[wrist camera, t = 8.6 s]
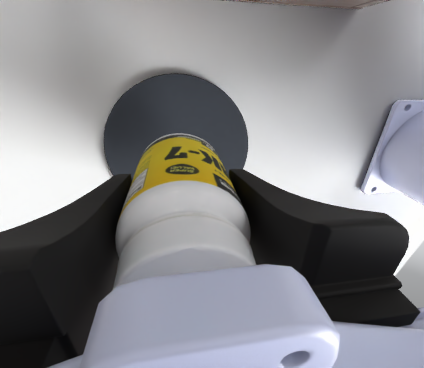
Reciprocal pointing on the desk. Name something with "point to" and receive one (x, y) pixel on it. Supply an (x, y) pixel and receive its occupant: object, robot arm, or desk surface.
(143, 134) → the coaster
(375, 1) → the box
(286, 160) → the desk surface
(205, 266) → the supplement bottle
